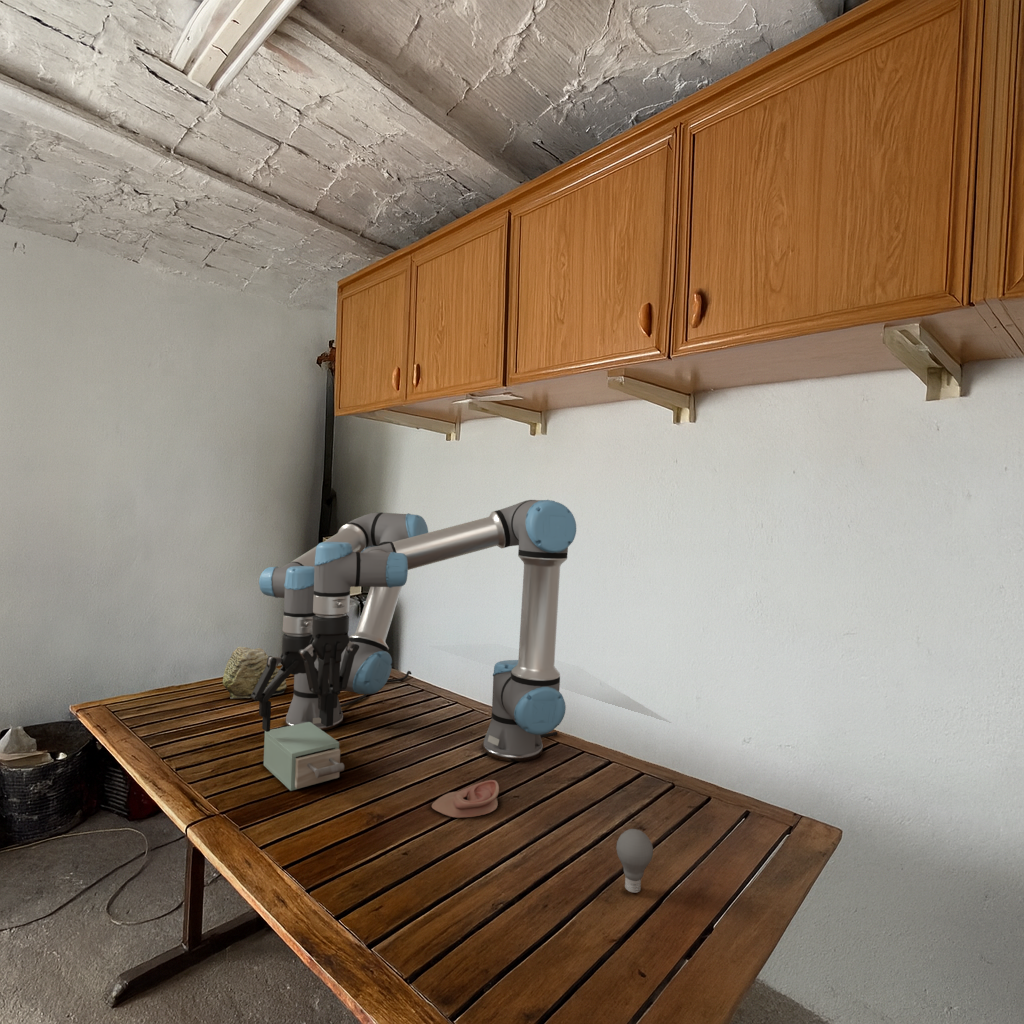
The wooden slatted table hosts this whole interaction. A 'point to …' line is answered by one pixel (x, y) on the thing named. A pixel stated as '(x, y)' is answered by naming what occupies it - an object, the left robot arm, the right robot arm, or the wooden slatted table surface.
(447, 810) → the anatomical model
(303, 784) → the drawer
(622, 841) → the light bulb
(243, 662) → the fossil
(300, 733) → the cabinet
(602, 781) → the wooden slatted table surface
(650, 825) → the wooden slatted table surface
